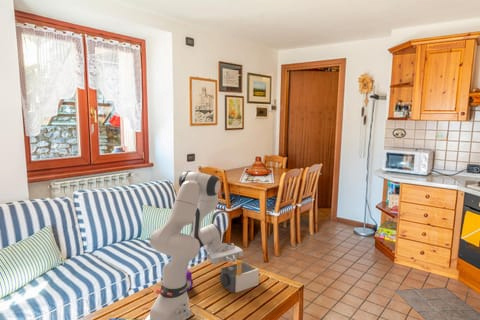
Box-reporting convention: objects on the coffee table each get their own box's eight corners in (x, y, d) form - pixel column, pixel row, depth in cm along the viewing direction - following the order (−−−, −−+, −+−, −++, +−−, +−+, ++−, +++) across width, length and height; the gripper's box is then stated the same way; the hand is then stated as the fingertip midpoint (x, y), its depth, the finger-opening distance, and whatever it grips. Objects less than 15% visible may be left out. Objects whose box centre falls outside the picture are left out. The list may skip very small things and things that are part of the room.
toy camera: (183, 297, 167) (183, 279, 166) (165, 288, 175) (165, 270, 174) (198, 288, 176) (198, 271, 174) (180, 280, 184) (181, 263, 182)
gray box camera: (217, 284, 180) (218, 268, 179) (244, 275, 191) (244, 260, 189) (228, 294, 171) (229, 276, 170) (255, 284, 182) (256, 267, 180)
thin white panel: (234, 291, 174) (235, 261, 171) (257, 283, 183) (258, 254, 180) (236, 292, 172) (237, 262, 170) (259, 284, 181) (260, 255, 179)
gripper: (204, 250, 180) (217, 259, 169) (234, 242, 192) (249, 251, 181) (204, 260, 181) (217, 271, 170) (234, 252, 193) (248, 261, 182)
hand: (233, 260), depth 175 cm, fingers closed
